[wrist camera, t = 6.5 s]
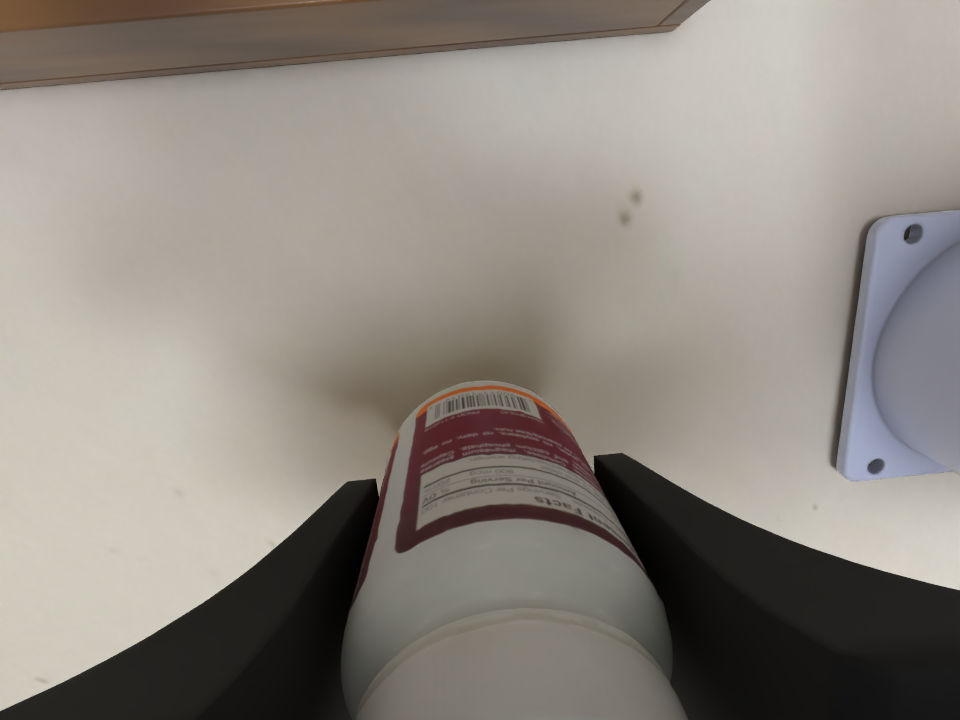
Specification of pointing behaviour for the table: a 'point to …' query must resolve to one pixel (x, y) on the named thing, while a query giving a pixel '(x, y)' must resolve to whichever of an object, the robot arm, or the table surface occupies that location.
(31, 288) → the table surface
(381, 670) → the pill bottle
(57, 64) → the wooden tray
